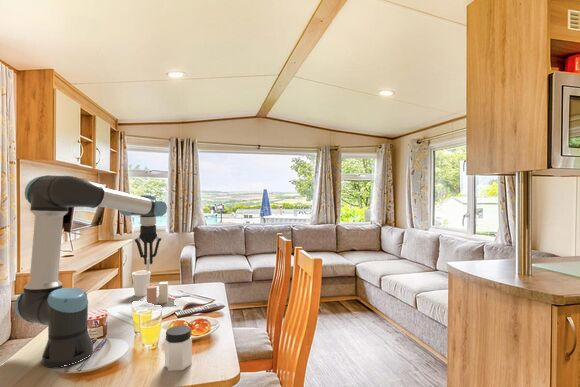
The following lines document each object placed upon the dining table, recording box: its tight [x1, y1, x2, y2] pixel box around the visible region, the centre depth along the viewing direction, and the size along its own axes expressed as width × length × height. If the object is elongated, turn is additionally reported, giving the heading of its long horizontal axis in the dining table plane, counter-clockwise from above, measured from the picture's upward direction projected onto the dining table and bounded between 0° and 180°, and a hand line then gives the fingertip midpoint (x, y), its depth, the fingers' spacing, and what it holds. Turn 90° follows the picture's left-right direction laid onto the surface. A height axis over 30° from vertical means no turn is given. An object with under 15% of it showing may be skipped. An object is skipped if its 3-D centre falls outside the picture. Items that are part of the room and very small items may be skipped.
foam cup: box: [131, 269, 152, 298], centre depth 185 cm, size 10×9×13 cm
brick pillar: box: [146, 284, 158, 305], centre depth 167 cm, size 4×4×10 cm
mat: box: [157, 294, 191, 308], centre depth 175 cm, size 16×22×1 cm
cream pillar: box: [158, 281, 169, 303], centre depth 174 cm, size 4×4×10 cm
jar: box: [164, 324, 193, 372], centre depth 114 cm, size 9×8×12 cm
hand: (148, 270), depth 172 cm, fingers closed
